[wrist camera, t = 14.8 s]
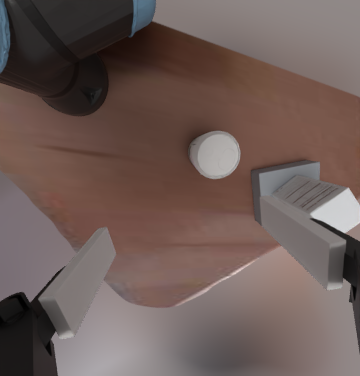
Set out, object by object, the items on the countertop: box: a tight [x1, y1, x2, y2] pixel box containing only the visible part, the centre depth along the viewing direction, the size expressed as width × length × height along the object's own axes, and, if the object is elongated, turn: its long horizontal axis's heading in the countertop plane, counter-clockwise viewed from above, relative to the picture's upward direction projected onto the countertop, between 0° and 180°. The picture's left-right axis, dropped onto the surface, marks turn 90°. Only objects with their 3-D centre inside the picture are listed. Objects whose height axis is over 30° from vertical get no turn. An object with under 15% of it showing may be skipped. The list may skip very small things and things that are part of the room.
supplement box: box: [272, 175, 360, 233], centre depth 35 cm, size 7×7×13 cm
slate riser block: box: [251, 160, 320, 226], centre depth 43 cm, size 14×14×5 cm
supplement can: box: [188, 131, 240, 179], centre depth 35 cm, size 8×8×15 cm
